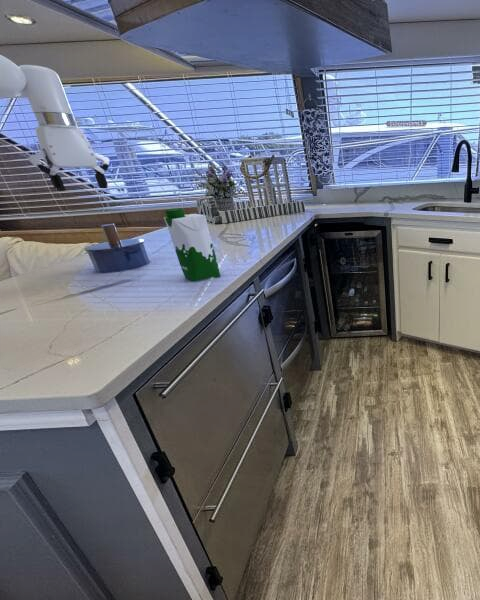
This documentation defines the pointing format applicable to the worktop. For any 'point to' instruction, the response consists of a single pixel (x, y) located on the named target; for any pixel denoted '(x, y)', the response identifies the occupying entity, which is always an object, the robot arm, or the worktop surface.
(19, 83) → the robot arm
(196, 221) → the milk carton
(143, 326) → the worktop surface
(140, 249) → the pot
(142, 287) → the worktop surface
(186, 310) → the worktop surface
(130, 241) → the plate lid
